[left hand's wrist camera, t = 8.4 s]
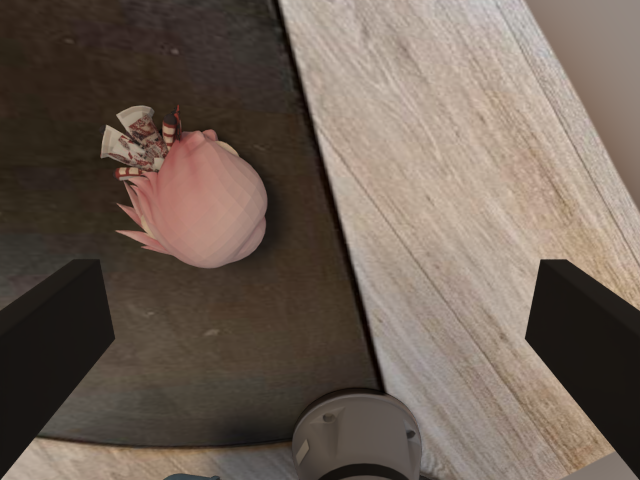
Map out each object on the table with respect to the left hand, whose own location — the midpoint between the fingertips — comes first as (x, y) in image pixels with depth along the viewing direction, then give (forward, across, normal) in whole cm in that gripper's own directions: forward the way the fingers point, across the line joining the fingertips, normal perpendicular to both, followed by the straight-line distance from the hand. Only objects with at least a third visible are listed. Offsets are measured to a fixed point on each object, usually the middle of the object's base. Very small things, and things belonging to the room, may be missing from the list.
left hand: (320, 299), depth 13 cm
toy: (+28, +12, +3) cm, 30 cm away
